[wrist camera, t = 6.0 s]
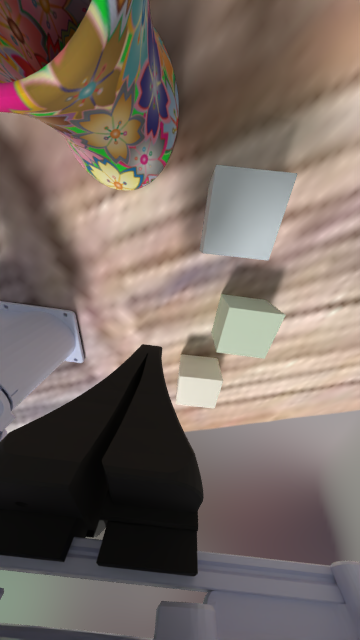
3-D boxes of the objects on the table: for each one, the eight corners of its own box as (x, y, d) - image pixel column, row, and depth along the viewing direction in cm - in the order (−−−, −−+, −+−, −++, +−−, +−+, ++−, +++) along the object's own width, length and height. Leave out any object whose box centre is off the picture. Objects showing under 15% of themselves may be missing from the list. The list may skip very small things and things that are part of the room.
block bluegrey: (199, 250, 15) (202, 253, 12) (208, 185, 13) (216, 164, 9) (249, 256, 15) (268, 260, 12) (267, 192, 13) (297, 173, 9)
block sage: (211, 331, 19) (216, 352, 16) (221, 293, 17) (229, 307, 14) (250, 337, 19) (264, 358, 16) (265, 299, 17) (285, 315, 14)
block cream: (177, 379, 23) (175, 404, 20) (180, 353, 21) (179, 376, 18) (210, 383, 23) (214, 408, 20) (217, 357, 21) (223, 380, 18)
